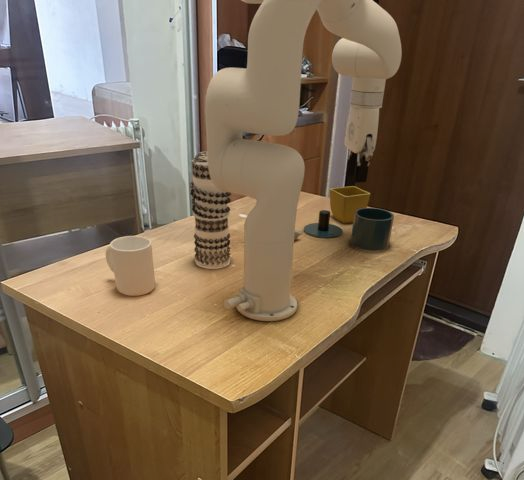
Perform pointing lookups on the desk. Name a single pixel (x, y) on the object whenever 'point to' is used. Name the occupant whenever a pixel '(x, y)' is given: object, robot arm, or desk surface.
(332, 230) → the pot lid
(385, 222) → the pot
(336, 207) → the flower pot
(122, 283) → the mug
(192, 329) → the desk surface
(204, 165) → the decorative candle
